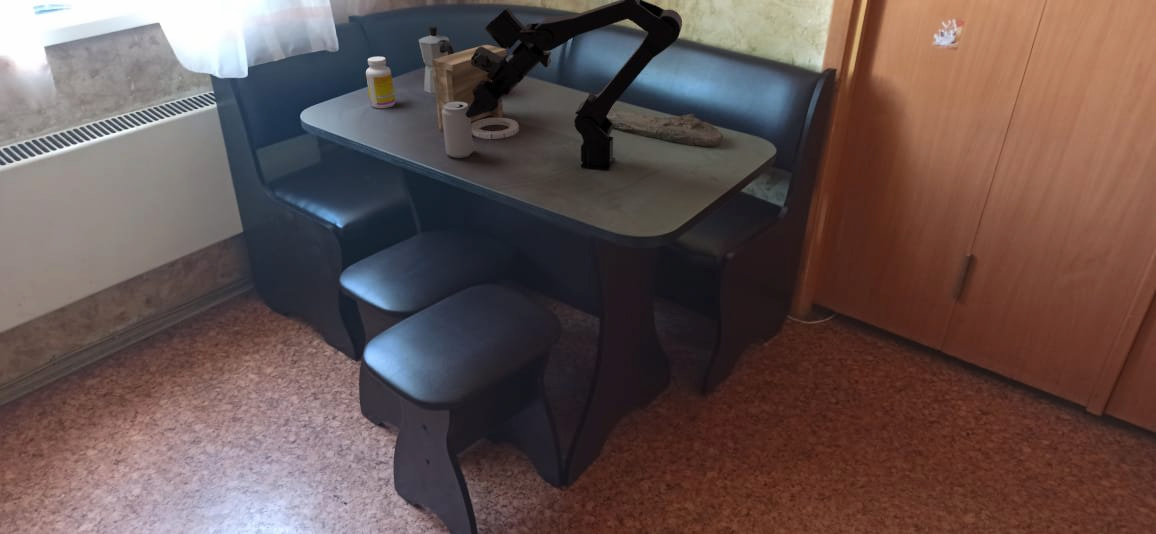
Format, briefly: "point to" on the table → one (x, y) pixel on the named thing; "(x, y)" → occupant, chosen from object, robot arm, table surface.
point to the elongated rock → (667, 128)
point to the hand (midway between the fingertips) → (473, 109)
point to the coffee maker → (433, 55)
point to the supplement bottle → (380, 83)
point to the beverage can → (457, 130)
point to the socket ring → (495, 134)
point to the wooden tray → (460, 80)
